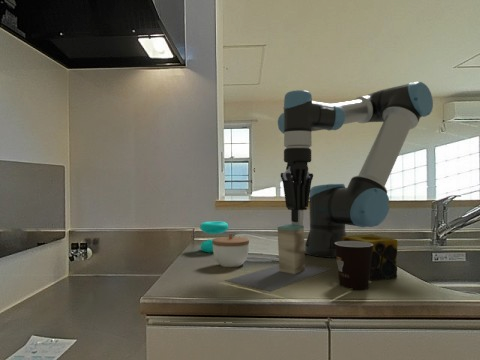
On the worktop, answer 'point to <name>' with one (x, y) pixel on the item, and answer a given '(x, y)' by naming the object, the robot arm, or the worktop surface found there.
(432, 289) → the worktop surface
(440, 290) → the worktop surface
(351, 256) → the coffee mug
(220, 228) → the donuts
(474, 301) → the worktop surface
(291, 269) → the birch block
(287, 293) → the worktop surface
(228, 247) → the lidded jar
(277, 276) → the rubber mat
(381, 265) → the yellow patterned cube
